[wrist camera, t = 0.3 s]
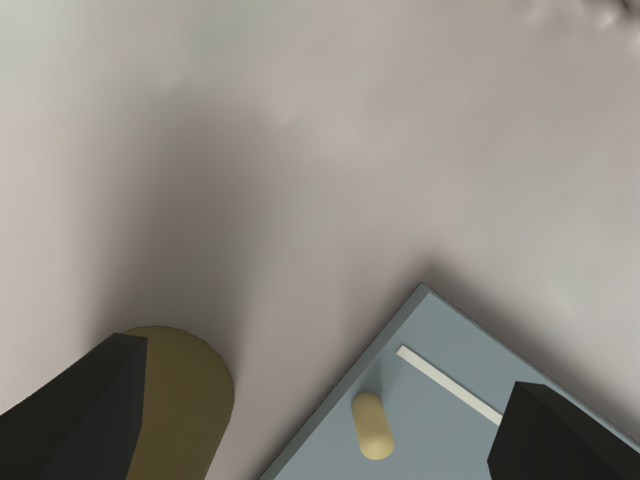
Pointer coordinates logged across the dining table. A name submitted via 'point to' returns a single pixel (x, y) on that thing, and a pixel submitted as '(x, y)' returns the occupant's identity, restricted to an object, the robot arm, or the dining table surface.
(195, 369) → the cork
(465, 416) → the shelf board
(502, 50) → the dining table surface
